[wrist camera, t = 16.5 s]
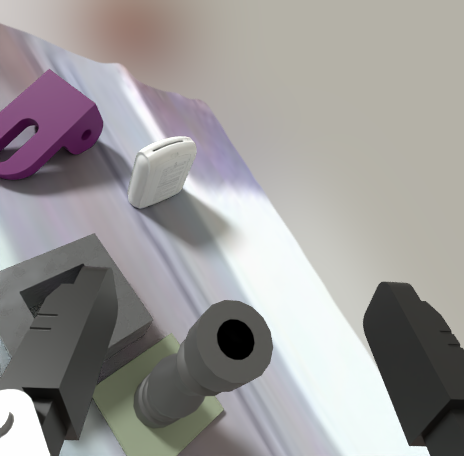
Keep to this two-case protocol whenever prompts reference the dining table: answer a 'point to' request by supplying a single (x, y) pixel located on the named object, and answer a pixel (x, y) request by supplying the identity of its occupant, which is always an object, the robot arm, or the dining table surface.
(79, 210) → the dining table surface
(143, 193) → the photo printer
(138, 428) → the mat
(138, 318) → the socket block
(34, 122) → the mounting bracket
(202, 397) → the candle holder
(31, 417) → the robot arm
